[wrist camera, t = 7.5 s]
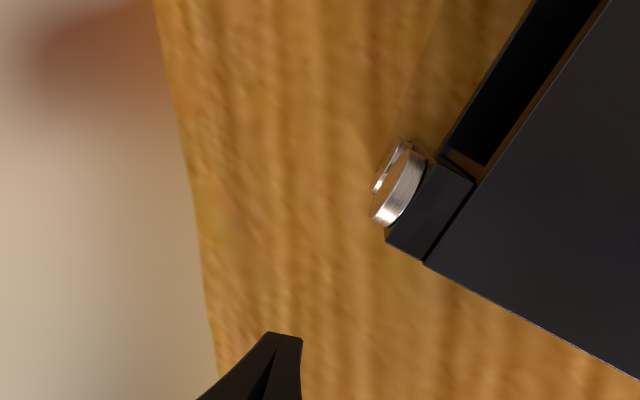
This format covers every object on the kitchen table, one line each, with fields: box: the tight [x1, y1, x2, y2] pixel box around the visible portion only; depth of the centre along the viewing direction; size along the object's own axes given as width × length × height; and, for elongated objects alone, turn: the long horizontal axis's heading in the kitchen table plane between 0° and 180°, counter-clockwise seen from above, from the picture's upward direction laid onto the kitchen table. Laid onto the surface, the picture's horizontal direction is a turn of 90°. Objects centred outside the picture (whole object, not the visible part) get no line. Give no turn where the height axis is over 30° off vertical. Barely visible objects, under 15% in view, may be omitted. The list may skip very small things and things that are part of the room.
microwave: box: [369, 0, 640, 381], centre depth 14 cm, size 12×14×8 cm
